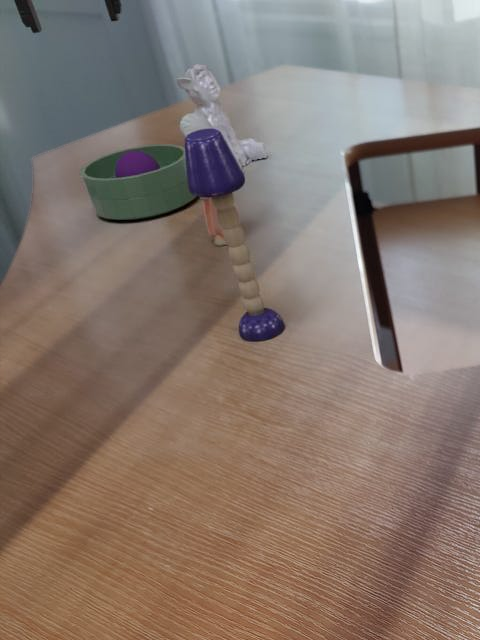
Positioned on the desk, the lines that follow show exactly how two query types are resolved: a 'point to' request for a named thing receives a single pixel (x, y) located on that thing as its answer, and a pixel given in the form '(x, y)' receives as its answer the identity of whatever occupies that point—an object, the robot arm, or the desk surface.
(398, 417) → the desk surface
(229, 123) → the white creature statuette
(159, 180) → the bowl
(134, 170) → the ball
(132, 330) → the desk surface
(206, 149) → the toy lamp
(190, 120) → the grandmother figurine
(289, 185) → the desk surface
